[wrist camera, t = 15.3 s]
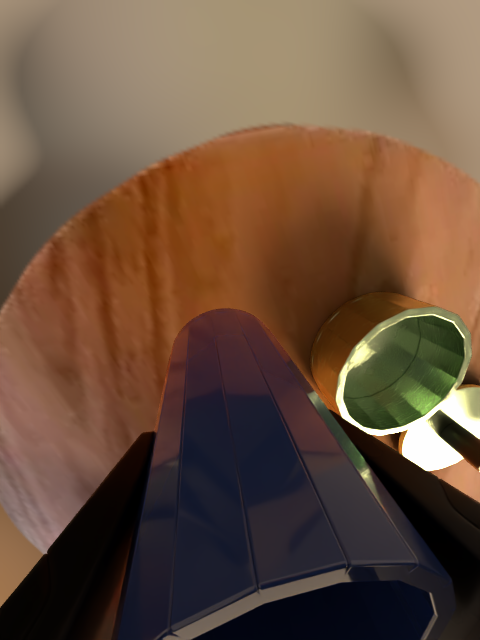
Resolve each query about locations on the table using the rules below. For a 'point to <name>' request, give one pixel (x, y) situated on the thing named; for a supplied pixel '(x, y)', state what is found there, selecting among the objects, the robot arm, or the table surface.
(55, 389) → the table surface
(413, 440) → the lid
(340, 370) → the pot
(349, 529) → the cup
